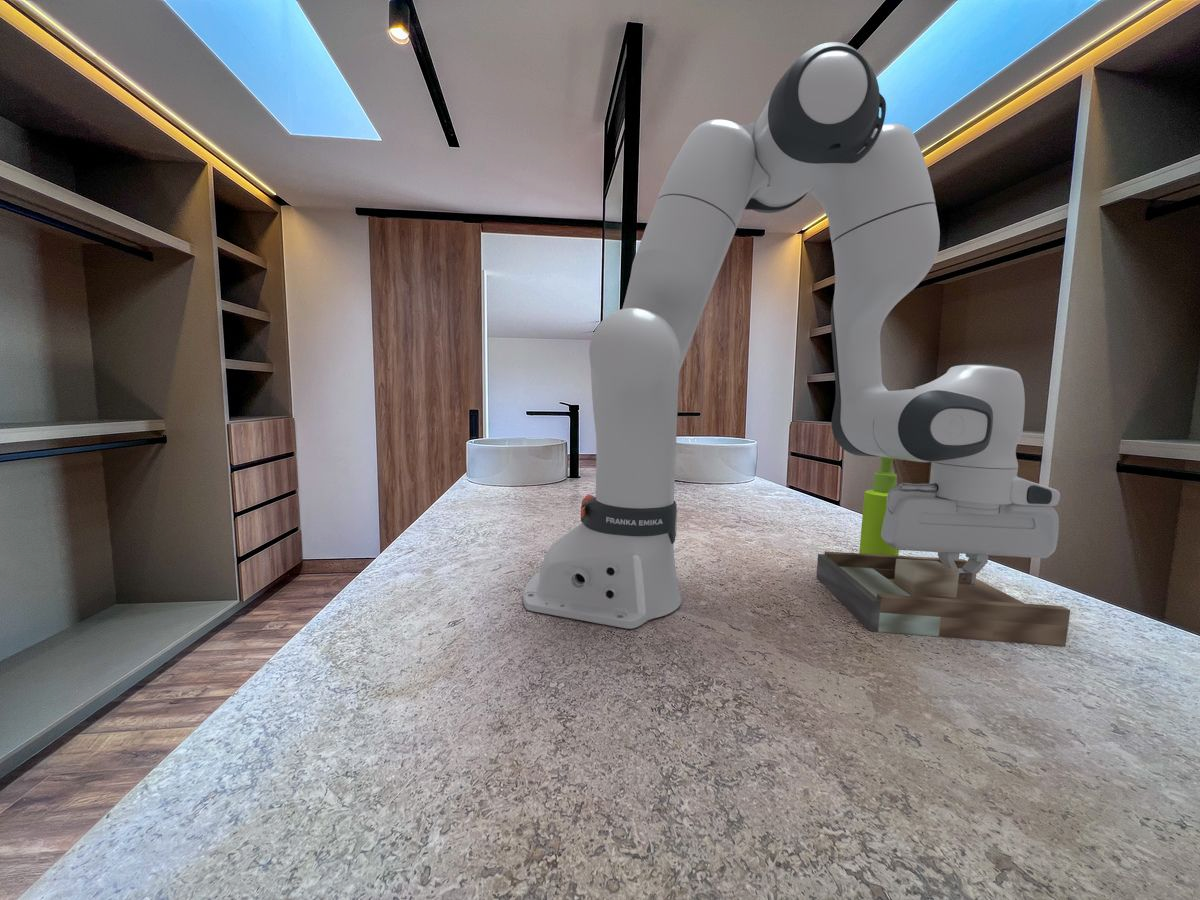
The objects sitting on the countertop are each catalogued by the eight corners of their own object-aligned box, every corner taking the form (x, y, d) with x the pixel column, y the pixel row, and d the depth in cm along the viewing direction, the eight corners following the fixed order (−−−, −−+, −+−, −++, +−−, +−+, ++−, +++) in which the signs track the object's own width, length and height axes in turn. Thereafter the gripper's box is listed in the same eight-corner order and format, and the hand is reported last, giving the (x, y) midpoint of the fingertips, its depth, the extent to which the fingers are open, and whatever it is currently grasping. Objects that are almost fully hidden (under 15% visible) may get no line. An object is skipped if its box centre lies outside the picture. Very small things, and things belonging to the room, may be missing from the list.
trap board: (869, 631, 53) (872, 596, 52) (816, 577, 70) (818, 551, 69) (1065, 645, 50) (1070, 610, 50) (961, 586, 67) (964, 559, 67)
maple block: (912, 594, 58) (915, 570, 58) (893, 581, 62) (896, 558, 62) (956, 597, 57) (959, 572, 57) (934, 584, 62) (936, 561, 61)
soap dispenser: (896, 561, 78) (906, 453, 76) (898, 572, 73) (909, 457, 71) (859, 554, 82) (867, 451, 80) (858, 565, 76) (867, 454, 74)
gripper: (902, 486, 56) (892, 587, 57) (1075, 493, 54) (1060, 598, 55) (877, 478, 62) (868, 569, 64) (1030, 484, 60) (1018, 578, 61)
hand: (959, 582), depth 59 cm, fingers closed
